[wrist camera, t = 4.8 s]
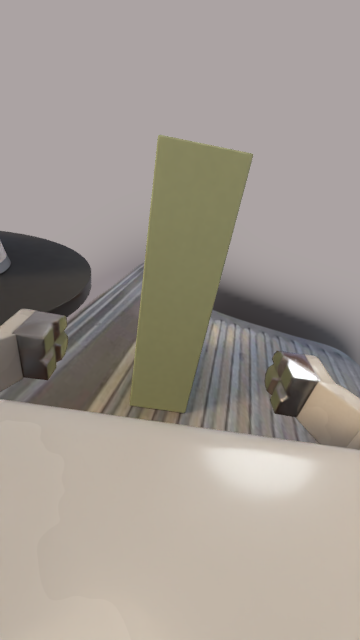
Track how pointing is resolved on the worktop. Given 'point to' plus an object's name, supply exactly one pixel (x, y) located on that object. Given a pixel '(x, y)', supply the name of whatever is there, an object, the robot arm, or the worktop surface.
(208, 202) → the back pad
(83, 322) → the worktop surface
